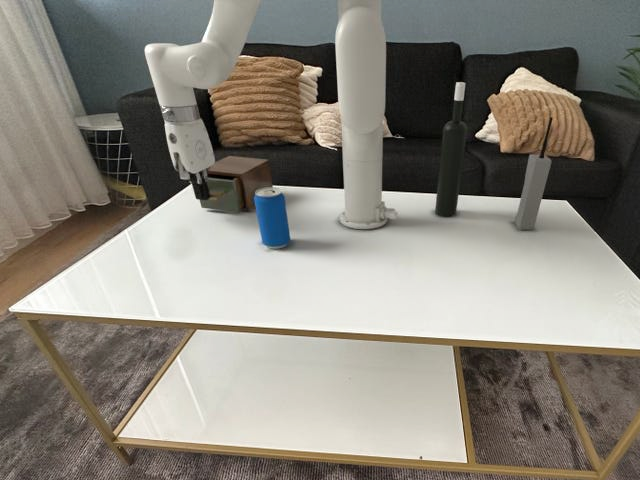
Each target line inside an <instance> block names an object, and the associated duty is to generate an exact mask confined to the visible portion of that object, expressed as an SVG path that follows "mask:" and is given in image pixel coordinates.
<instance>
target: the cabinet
mask: <svg viewBox="0 0 640 480" xmlns="http://www.w3.org/2000/svg"><path fill="white" fill-rule="evenodd" d="M207 174H217V175H226V176H235V177H240V180H241V185H242V190H243V195H244V200H245V206H244V207H242V208H241V211H245V212H250V211H252V210H254V209H256V206H255V201H254V197H255V195H256V194H255V191H256V190H258V189H261V188H268V187H273V179H272V174H271V166H270V160H269V159H265V158H256V157H244V156H235V155H234V156H233V155H227V156H226V157H224V158H221V159H218V160H216V161H215V163H214V164H213V165H212V166H211V168H210V169H209V170H208V172H207ZM273 188H274V187H273Z"/></svg>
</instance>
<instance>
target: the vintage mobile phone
mask: <svg viewBox="0 0 640 480" xmlns="http://www.w3.org/2000/svg"><path fill="white" fill-rule="evenodd" d="M553 119H554V117H552V116H551V117H549V119H548V124H547V128H546V131H545V132H546V133H545V137H544V140H543V142H542V146H541V150H540V153H539V154H532V153H531V154H529V155H528V160H527V164H526V165H527V166H526V170H525V177H524V183H523V187H522V192H521V196H520V200H519V205H518V207H517V208H518V209H517V213H516V215H515V217H514V221H513V223H514V224H515V226H516V227H517V228H518V230H520V231H534V230H535V225H536V222H537V218H538V215H539V210H540V207H541V202H542V199H543V196H544V191H545V188H546V184H547V181H548V176H549V173H550V169H551V165H552V159H551V158H549V157H548V156H547V155H546V154H545V153H546V149H547V145H548V139H549V135H550V131H551V127H552V123H553Z"/></svg>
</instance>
